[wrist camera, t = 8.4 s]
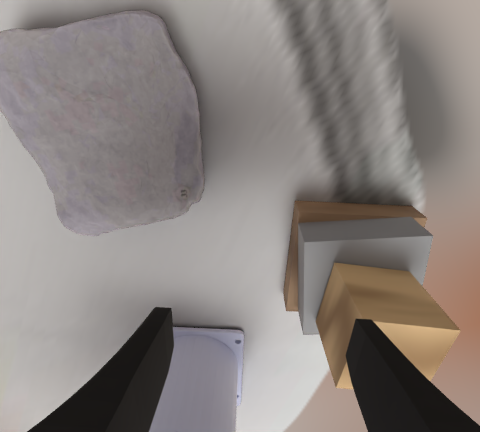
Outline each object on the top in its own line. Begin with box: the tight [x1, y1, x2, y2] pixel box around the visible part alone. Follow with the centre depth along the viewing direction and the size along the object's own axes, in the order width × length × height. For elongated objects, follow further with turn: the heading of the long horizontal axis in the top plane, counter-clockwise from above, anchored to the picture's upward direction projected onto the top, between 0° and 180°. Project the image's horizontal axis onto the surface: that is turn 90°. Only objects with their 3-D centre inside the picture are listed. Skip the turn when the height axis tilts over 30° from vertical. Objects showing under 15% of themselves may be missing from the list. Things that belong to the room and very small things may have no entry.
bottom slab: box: [283, 201, 427, 311], centre depth 22 cm, size 8×8×2 cm
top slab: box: [298, 217, 433, 335], centre depth 19 cm, size 7×7×2 cm
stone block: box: [0, 10, 205, 236], centre depth 18 cm, size 12×5×10 cm
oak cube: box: [315, 263, 461, 389], centre depth 16 cm, size 4×4×4 cm
